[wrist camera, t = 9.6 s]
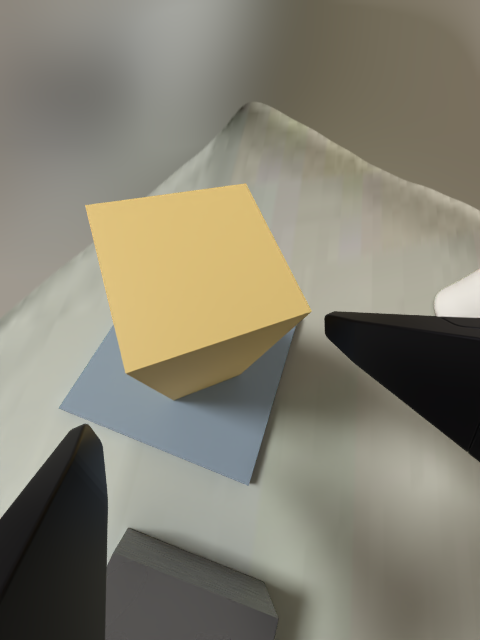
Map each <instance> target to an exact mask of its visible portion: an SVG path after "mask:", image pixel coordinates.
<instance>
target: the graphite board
mask: <svg viewBox="0 0 480 640" xmlns="http://www.w3.org/2000/svg"><path fill="white" fill-rule="evenodd" d="M278 619H279V618H278V616H277V613H276V611H275V608H274V606H273V603H272V601H271V598H270V596H269V593H268V591H267V588H266V586H265V583H264V582H262V581H260V580H257V579H255V578H252V577H250V576H247V575H245V574H242V573H240V572H237V571H235V570H232V569H230V568H227V567H225V566H222V565H220V564H217V563H215V562H212V561H210V560H207V559H205V558H202V557H200V556H197V555H195V554H192V553H190V552H187V551H185V550H182V549H180V548H177V547H175V546H172V545H170V544H167V543H165V542H162V541H160V540H157V539H155V538H152V537H150V536H147V535H145V534H142V533H140V532H137V531H135V530H132V529H130V528H128V529H127V531H126V532H125V534H124V536H123V537H122V539H121V541H120V542H119V544H118V546H117V547H116V549H115V551H114V552H113V554H112V557H111V559H110V561H109V563H108V565H107V574H106V624H105V640H274V638H275V633H276V629H277V624H278Z"/></svg>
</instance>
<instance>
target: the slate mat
mask: <svg viewBox="0 0 480 640" xmlns="http://www.w3.org/2000/svg"><path fill="white" fill-rule="evenodd" d="M295 327H296V326H295ZM295 327H293V328H292V329H291V330H290V331H289V332H288V333H287V334H286V335H284V336H283V337H282V338H281V339H280V340H279V341H278V342H277V343H275V344H274V345H273V346H272V347H271V348H270V349H269V350H268V351H266V352H265V353H264V354H263V355H262V356H261V357H260V358H258V359H257V360H256V361H255V362H254V363H253V364H252V365H251V366H249V367H248V368H247V369H246V370H245V371H244V372H243V373H242V374H240V375H238V376H236V377H233V378H231V379H228V380H225V381H223V382H220V383H218V384H215V385H212V386H210V387H207V388H205V389H202V390H199V391H197V392H194V393H192V394H189V395H186V396H184V397H181V398H179V399H176V400H172V399H170V398H168V397H166V396H165V395H163V394H161V393H159V392H157V391H156V390H154V389H152V388H150V387H149V386H147V385H145V384H143V383H142V382H140V381H138V380H136V379H134V378H133V377H131V376H129V375H127V374H126V373H125V369H124V365H123V361H122V357H121V353H120V348H119V344H118V340H117V336H116V332H115V327H114V325H113V326H112V328H111V329H110V331H109V332H108V334H107V335H106V337H105V338H104V340H103V342H102V343H101V345H100V346H99V348H98V349H97V351H96V352H95V354H94V355H93V357H92V358H91V360H90V361H89V363H88V364H87V366H86V367H85V369H84V370H83V372H82V373H81V375H80V376H79V378H78V379H77V381H76V382H75V384H74V386H73V387H72V389H71V390H70V392H69V393H68V395H67V396H66V398H65V399H64V401H63V402H62V404H61V405H60V407H59V409H62V410H64V411H67V412H69V413H71V414H74V415H76V416H79V417H81V418H84V419H86V420H89V421H91V422H94V423H96V424H98V425H101V426H103V427H106V428H108V429H111V430H113V431H116V432H118V433H121V434H123V435H125V436H128V437H130V438H133V439H135V440H138V441H140V442H143V443H145V444H148V445H150V446H152V447H155V448H157V449H160V450H162V451H165V452H167V453H170V454H172V455H175V456H177V457H179V458H182V459H184V460H187V461H189V462H192V463H194V464H197V465H199V466H201V467H204V468H206V469H209V470H211V471H214V472H216V473H219V474H221V475H224V476H226V477H228V478H231V479H233V480H236V481H238V482H241V483H243V484H246V485H248V486H249V483H250V479H251V476H252V472H253V469H254V466H255V462H256V459H257V456H258V452H259V449H260V445H261V442H262V439H263V435H264V432H265V429H266V425H267V422H268V418H269V415H270V412H271V408H272V405H273V402H274V398H275V395H276V391H277V388H278V385H279V381H280V378H281V375H282V371H283V368H284V364H285V361H286V358H287V354H288V351H289V348H290V344H291V341H292V337H293V334H294V331H295Z"/></svg>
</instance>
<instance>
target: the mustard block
mask: <svg viewBox="0 0 480 640" xmlns="http://www.w3.org/2000/svg"><path fill="white" fill-rule="evenodd" d="M85 206H86V210H87V215H88V219H89V223H90V227H91V231H92V236H93V240H94V244H95V248H96V252H97V256H98V261H99V265H100V269H101V273H102V277H103V282H104V286H105V290H106V294H107V298H108V302H109V307H110V311H111V315H112V319H113V323H114V327H115V332H116V336H117V340H118V344H119V348H120V353H121V357H122V361H123V365H124V369H125V373H126V374H127V375H129V376H131V377H133V378H134V379H136V380H138V381H140V382H142V383H143V384H145V385H147V386H149V387H150V388H152V389H154V390H156V391H157V392H159V393H161V394H163V395H165V396H166V397H168V398H170V399H172V400H176V399H179V398H181V397H184V396H186V395H189V394H192V393H194V392H197V391H199V390H202V389H205V388H207V387H210V386H212V385H215V384H218V383H220V382H223V381H225V380H228V379H231V378H233V377H236V376H238V375H240V374H242V373H243V372H244V371H245V370H246V369H247V368H248V367H249V366H251V365H252V364H253V363H254V362H255V361H256V360H257V359H258V358H260V357H261V356H262V355H263V354H264V353H265V352H266V351H268V350H269V349H270V348H271V347H272V346H273V345H274V344H275V343H277V342H278V341H279V340H280V339H281V338H282V337H283V336H284V335H286V334H287V333H288V332H289V331H290V330H291V329H292V328H293V327H295V326H296V325H297V324H298V323H299V322H300V321H301V320H303V319H304V318H305V317H306V316H307V315H308V314H309V313H310V312H312V311H311V309H310V307H309V305H308V303H307V301H306V299H305V297H304V295H303V294H302V292H301V290H300V288H299V286H298V284H297V282H296V280H295V278H294V276H293V274H292V272H291V270H290V268H289V266H288V264H287V262H286V261H285V259H284V257H283V255H282V253H281V251H280V249H279V247H278V245H277V243H276V241H275V239H274V237H273V235H272V233H271V231H270V230H269V228H268V226H267V224H266V222H265V220H264V218H263V216H262V214H261V212H260V210H259V208H258V206H257V204H256V202H255V200H254V198H253V197H252V195H251V193H250V191H249V189H248V187H247V185H246V184H239V185H232V186H224V187H217V188H210V189H202V190H195V191H187V192H180V193H173V194H165V195H158V196H150V197H144V198H136V199H128V200H121V201H114V202H106V203H99V204H92V205H85Z"/></svg>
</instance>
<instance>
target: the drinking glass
mask: <svg viewBox="0 0 480 640" xmlns="http://www.w3.org/2000/svg"><path fill="white" fill-rule="evenodd" d="M434 310H435V313H436V316H438V317H440V316H444V317H468V318H480V268H479V269H477V270H476V271H474V272H472V273H471V274H469V275H467V276H466V277H464V278H462V279H460V280H459V281H457V282H455V283H453V284H451V285H449V286H447V287H445V288H443V289H442V290H440V291H439V292H438V293H437V295H436V297H435V299H434Z"/></svg>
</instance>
